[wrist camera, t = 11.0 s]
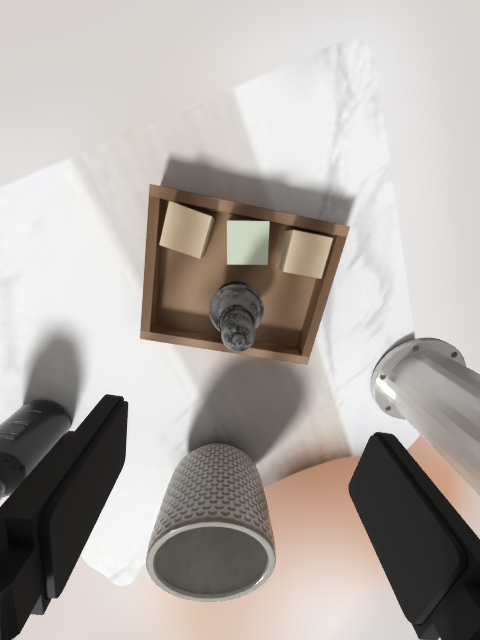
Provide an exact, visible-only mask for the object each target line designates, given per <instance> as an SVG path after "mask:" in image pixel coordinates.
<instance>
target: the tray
mask: <svg viewBox="0 0 480 640" xmlns="http://www.w3.org/2000/svg"><path fill="white" fill-rule="evenodd" d="M169 201H171V202H173V203H176V204H179V205H182V206H184V207H187V208H190V209H193V210H195V211H198V212H201V213H203V214H206V215H209V216H212V217H213V218H214V224H213V227H212V231H211V234H210V238H209V241H208V245H207V248H206V252H205V256H204V257H202V258H200V259H199V258H196V257H193V256H190V255H187V254H184V253H181V252H178V251H176V250H173V249H170V248H167V247H164V246H161V245H159V244H160V240H161V235H162V231H163V226H164V222H165V217H166V213H167V208H168V204H169ZM227 221H270V225H269V246H268V265H229V264H227ZM349 228H350V227H349V226H345V225H340V224H335V223H331V222H326V221H321V220H317V219H312V218H307V217H302V216H298V215H293V214H288V213H284V212H279V211H274V210H270V209H265V208H260V207H255V206H251V205H246V204H241V203H237V202H232V201H227V200H223V199H218V198H213V197H209V196H204V195H199V194H194V193H190V192H185V191H180V190H176V189H171V188H166V187H162V186H157V185H152V184H150V189H149V205H148V221H147V237H146V253H145V269H144V285H143V301H142V316H141V332H140V339H145V340H151V341H158V342H164V343H171V344H177V345H184V346H190V347H197V348H203V349H210V350H216V351H223V352H229V353H236V354H242V355H249V356H255V357H262V358H268V359H275V360H281V361H288V362H294V363H301V364H308V360H309V357H310V354H311V351H312V347H313V344H314V341H315V338H316V335H317V331H318V328H319V325H320V322H321V318H322V315H323V312H324V309H325V306H326V302H327V299H328V296H329V293H330V289H331V286H332V283H333V280H334V276H335V273H336V270H337V267H338V264H339V260H340V257H341V254H342V251H343V247H344V244H345V241H346V238H347V235H348V231H349ZM288 230H297V231H301V232H306V233H311V234H316V235H321V236H326V237H330V238H333V240H332V244H331V247H330V250H329V254H328V257H327V261H326V264H325V268H324V271H323V274H322V278H321V279H319V278H314V277H308V276H303V275H298V274H292V273H287V272H283V271H281V270H280V269H278V268H277V267H276V265H277V261H278V257H279V252H280V248H281V244H282V239H283V235H284V231H288ZM232 281H239V282H244V283H246V284H247V285H249V286H250V287H251V288H252V289H253V290H254V291H256V292H257V293H258V294H259V296H260V298H261V300H262V302H263V306H264V315H263V318H262V321H261V323H260V325H259V326H258V327H257V328H256V330H255V340H254V343H253V344H252V346H251V347H250V348H249V349H247V350H245V351H242V352H235V351H232V350H230V349H228V348H227V347H226V346H225V345H224V343H223V341H222V338H221V332H220V331H219V330H218V329H216V328H215V326H214V325H213V323H212V322H211V319H210V316H209V306H210V302H211V300H212V298H213V296H214V295H215V294H216V293H217V291H218V290H219V289H220V288H221V286H223V285H224V284H226V283H229V282H232Z"/></svg>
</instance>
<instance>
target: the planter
mask: <svg viewBox="0 0 480 640" xmlns="http://www.w3.org/2000/svg"><path fill="white" fill-rule="evenodd" d="M275 562H276V554H275V542H274V536H273V531H272V527H271V522H270V516H269V511H268V506H267V501H266V497H265V493H264V489H263V485H262V481H261V478H260V475H259V472H258V470H257V468H256V466H255V464H254V462H253V461H252V460H251V458H250V457H249V456H248V455H247V454H245V453H244V452H243V451H241V450H240V449H237V448H235V447H233V446H231V445H228V444H225V443H211V444H208V445H205V446H202V447H199V448H197V449H195V450H193V451H192V452H190V453H189V454H187V455H186V456H185V457H184V458H183V459H182V460H181V462H180V463H179V464H178V466H177V468H176V469H175V471H174V473H173V476H172V478H171V480H170V482H169V485H168V488H167V490H166V493H165V496H164V498H163V501H162V504H161V507H160V511H159V514H158V517H157V520H156V523H155V526H154V529H153V532H152V535H151V539H150V542H149V546H148V551H147V557H146V566H147V570H148V573H149V575H150V576H151V578H152V580H153V581H154V582H155V583H156V584H157V585H158V586H159V587H160V588H162V589H163V590H165V591H167V592H168V593H170V594H172V595H174V596H177V597H180V598H183V599H187V600H192V601H200V602H201V601H202V602H216V601H225V600H231V599H234V598H238V597H241V596H243V595H246V594H248V593H250V592H252V591H254V590H256V589H257V588H259V587H260V586H261V585H262V584H263V583H265V582H266V580H267V579H268V578H269V577H270V575H271V574H272V572H273V570H274V567H275Z"/></svg>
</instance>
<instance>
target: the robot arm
mask: <svg viewBox="0 0 480 640" xmlns="http://www.w3.org/2000/svg"><path fill="white" fill-rule="evenodd" d="M371 393H372V397H373V399H374V401H375V403H376V404H377V405H378V406H379V408H380V409H381V410H382V411H383V412H385V413H386V414H388V415H390V416H392V417H395V418H398V419H405V420H407V421H408V422H409V423H410V424H411V425H412V426H413V427H414V428H415V429H416V430H417V431H418V432H419V433H420V434H421V435H422V436H423V437H424V438H425V439H426V440H427V441H428V442H429V443H430V444H431V445H432V446H433V447H434V448H435V449H436V451H437V452H438V453H439V454H440V455H441V456H442V457H443V458H444V459H445V460H446V461H447V462H448V463H449V464H450V465H451V466H452V467H453V468H454V469H455V470H456V471H457V472H458V473H459V474H460V475H461V476H462V478H463V479H464V480H465V481H466V482H467V483H468V484H469V485H470V486H471V487H472V488H473V489H474V490H475V491H476V492H477V493H478V494H479V495H480V374H478V373H476V372H474V371H473V370H471V369H469V368H467V367H466V365H465V361H464V358H463V356H462V354H461V353H460V352H459V350H457V349H456V348H455V347H454V346H452V345H450V344H449V343H447V342H444V341H442V340H440V339H435V338H419V339H414V340H410V341H408V342H405V343H403V344H401V345H399V346H397V347H395V348H394V349H393V350H391V351H390V352H389V353H387V354H386V355H385V357H384V358H383V359H382V360H381V361H380V362H379V364H378V365H377V367H376V369H375V371H374V373H373V376H372V380H371ZM127 418H128V402H127V401H124V398H123V397H122V396H115V395H108V394H107V395H105V396H104V397H103V398H102V399H101V400H100V401H99V403H98V404H97V405H96V406H95V408H94V409H93V410H92V411H91V412H90V414H89V415H88V416H87V417H86V418H85V420H84V421H83V422H82V423H81V424H80V426H79V427H78V428H77V429H76V430H75V432H74V431H68V432H66V433H65V434H64V435H63V436H62V437H61V438H60V439H59V440H58V441H57V443H56V444H55V445H54V446H53V447H52V448H51V449H50V451H49V452H48V453H47V454H46V455H45V456H44V457H43V459H42V460H41V461H40V462H39V463H38V464H37V465H36V467H35V468H34V469H33V470H32V471H31V472H30V473H29V475H28V476H27V477H26V478H25V479H24V480H23V481H22V483H21V484H20V485H19V486H18V487H17V488H16V489H15V491H14V492H13V493H12V494H11V495H10V496H9V498H8V499H7V500H6V501H5V502H4V503H3V504H2V506H1V507H0V640H14V638H15V637H16V636H17V635H18V634H20V632H21V630H22V628H23V627H24V625H25V623H26V621H27V619H28V617H29V616H30V614H37V615H43V614H44V613H45V611H46V609H47V607H48V605H49V603H50V601H51V599H52V598H58V597H59V596H60V594H61V593H62V591H63V589H64V587H65V585H66V583H67V581H68V579H69V577H70V575H71V573H72V571H73V569H74V567H75V565H76V563H77V561H78V558H79V556H80V554H81V552H82V550H83V548H84V546H85V544H86V542H87V540H88V538H89V536H90V534H91V532H92V530H93V528H94V526H95V524H96V522H97V520H98V517H99V515H100V513H101V511H102V509H103V507H104V505H105V503H106V501H107V499H108V497H109V495H110V493H111V491H112V489H113V487H114V485H115V483H116V480H117V478H118V476H119V474H120V472H121V470H122V468H123V465H124V462H125V456H126V437H127ZM349 494H350V497H351V499H352V501H353V503H354V505H355V508H356V510H357V512H358V514H359V516H360V519H361V521H362V523H363V525H364V527H365V530H366V532H367V534H368V536H369V538H370V540H371V543H372V545H373V547H374V549H375V551H376V554H377V556H378V558H379V560H380V563H381V565H382V567H383V569H384V571H385V574H386V576H387V578H388V580H389V582H390V584H391V587H392V589H393V591H394V593H395V595H396V597H397V600H398V602H399V604H400V607H401V609H402V611H403V613H404V615H405V617H406V618H407V620H408V621H409V622H410V623H412V625H413V627H414V629H415V631H416V633H417V636H418V638H419V639H420V640H421V639H422V640H438V639H439V637H440V638H441V640H480V539H479V538H478V537H477V535H476V534H475V533H474V532H473V530H472V529H471V528H470V527H469V526H468V525H467V523H466V522H465V521H464V520H463V519H462V517H461V516H460V515H459V514H458V512H457V511H456V510H455V509H454V507H453V506H452V505H451V504H450V502H449V501H448V500H447V499H446V498H445V496H444V495H443V494H442V493H441V492H440V490H439V489H438V488H437V487H436V485H435V484H434V483H433V482H432V481H431V479H430V478H429V477H428V476H427V474H426V473H425V472H424V471H423V470H422V468H421V467H420V466H419V465H418V463H417V462H416V461H415V460H414V459H413V458H412V456H411V455H410V454H409V453H408V451H407V450H406V449H405V448H404V446H403V445H402V444H401V443H400V442H399V440H398V439H397V438H396V437H395V436H394V435H393V434H388V433H381V432H376V433H374V435H372V436H371V437H370V438H369V440H368V443H367V445H366V447H365V449H364V452H363V454H362V456H361V458H360V461H359V463H358V465H357V467H356V469H355V472H354V474H353V476H352V478H351V481H350V483H349Z"/></svg>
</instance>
